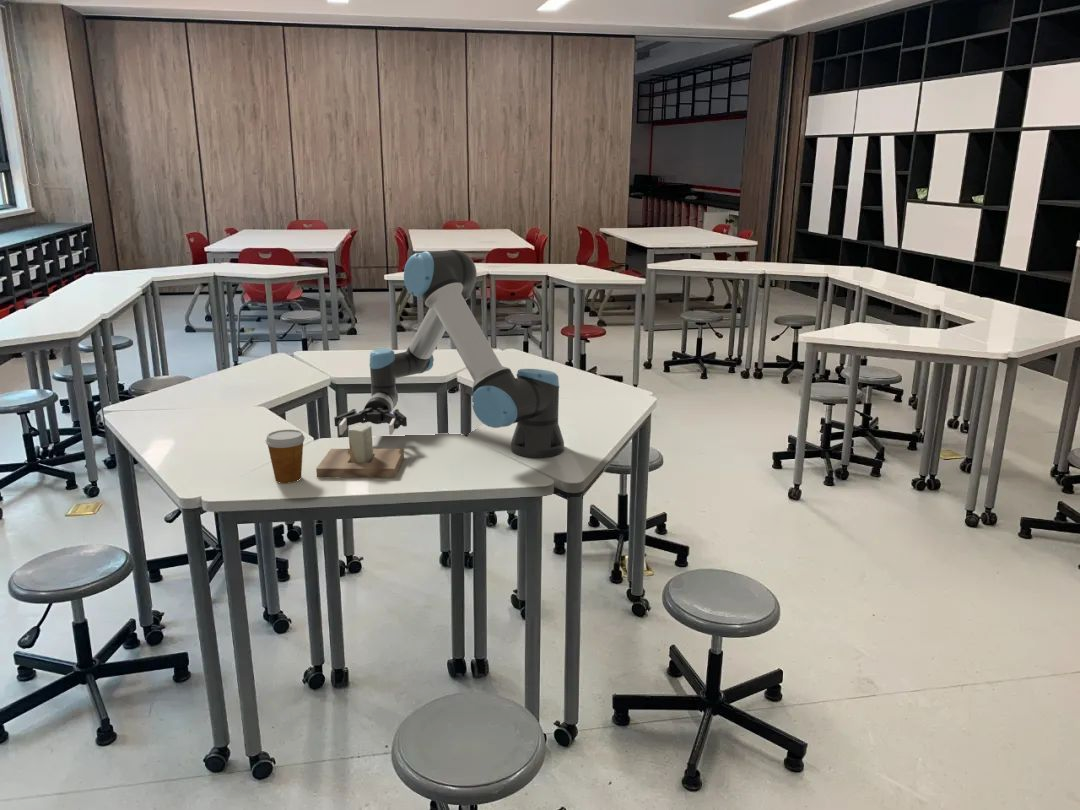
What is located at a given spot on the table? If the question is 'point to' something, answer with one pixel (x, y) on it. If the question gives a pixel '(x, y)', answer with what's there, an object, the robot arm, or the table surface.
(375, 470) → the socket block
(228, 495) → the table surface
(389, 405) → the robot arm
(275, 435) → the disposable coffee cup
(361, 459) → the box
